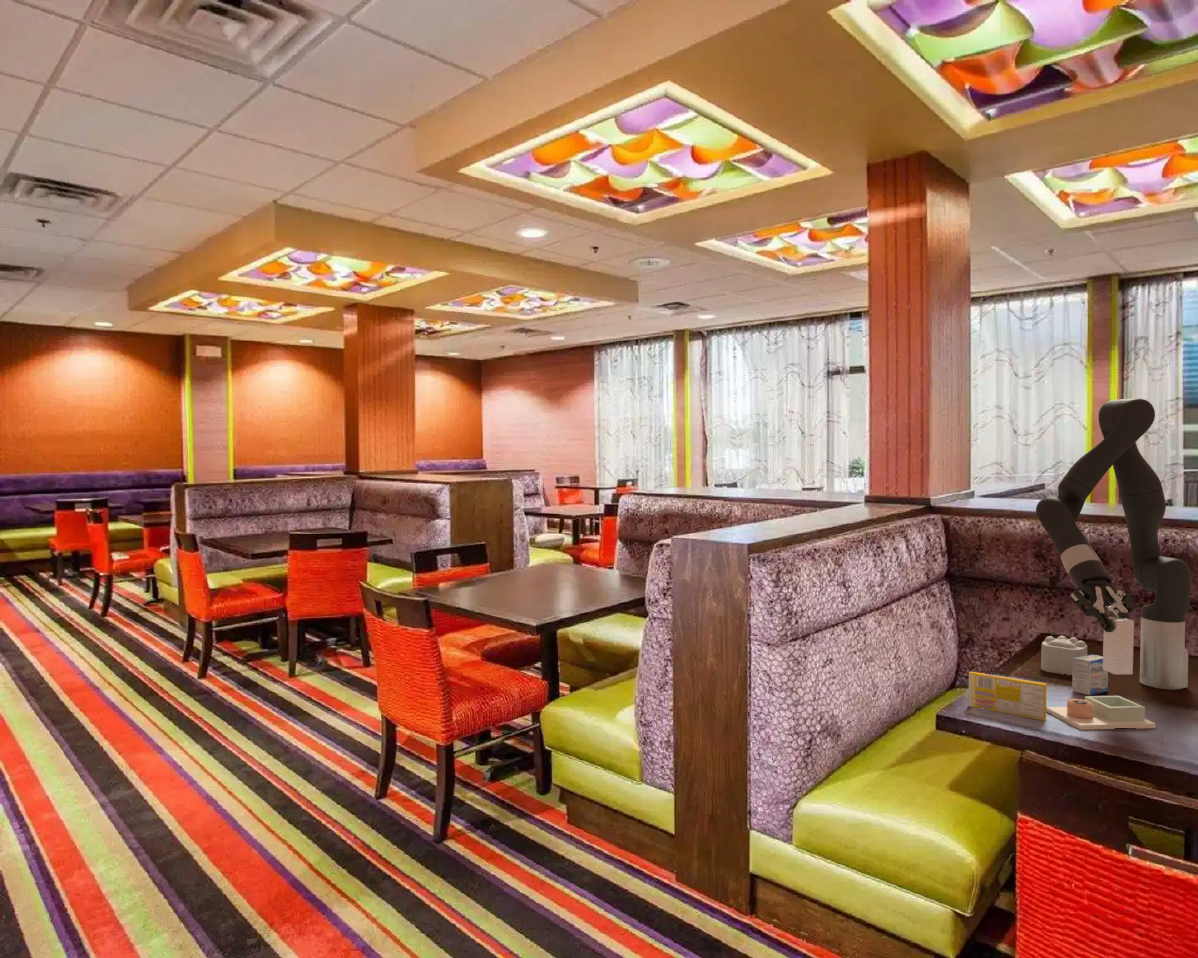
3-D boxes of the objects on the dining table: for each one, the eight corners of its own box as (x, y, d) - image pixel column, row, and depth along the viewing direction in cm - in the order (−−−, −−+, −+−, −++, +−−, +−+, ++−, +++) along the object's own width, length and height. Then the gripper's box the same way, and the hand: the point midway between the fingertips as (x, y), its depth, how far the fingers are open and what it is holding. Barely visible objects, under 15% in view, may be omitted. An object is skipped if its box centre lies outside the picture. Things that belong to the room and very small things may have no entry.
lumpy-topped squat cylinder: (1037, 670, 215) (1038, 639, 215) (1049, 660, 225) (1050, 631, 225) (1080, 677, 208) (1081, 645, 208) (1091, 667, 218) (1092, 637, 217)
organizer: (1116, 709, 182) (1116, 692, 182) (1155, 727, 170) (1155, 709, 170) (1045, 711, 181) (1046, 693, 181) (1080, 729, 169) (1080, 711, 169)
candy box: (1046, 719, 176) (1047, 683, 176) (1044, 721, 174) (1045, 685, 174) (970, 704, 186) (970, 670, 186) (967, 706, 185) (968, 672, 185)
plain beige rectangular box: (1119, 669, 176) (1120, 616, 176) (1132, 674, 172) (1134, 620, 172) (1102, 669, 176) (1103, 616, 176) (1115, 674, 172) (1116, 620, 172)
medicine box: (1089, 696, 192) (1090, 661, 192) (1071, 691, 196) (1072, 657, 196) (1108, 691, 196) (1108, 657, 196) (1090, 686, 200) (1090, 653, 199)
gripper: (1063, 558, 182) (1098, 621, 170) (1121, 558, 183) (1160, 620, 171) (1048, 577, 188) (1081, 639, 176) (1105, 577, 188) (1141, 638, 177)
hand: (1120, 629), depth 174 cm, fingers closed on plain beige rectangular box, 4 cm apart
